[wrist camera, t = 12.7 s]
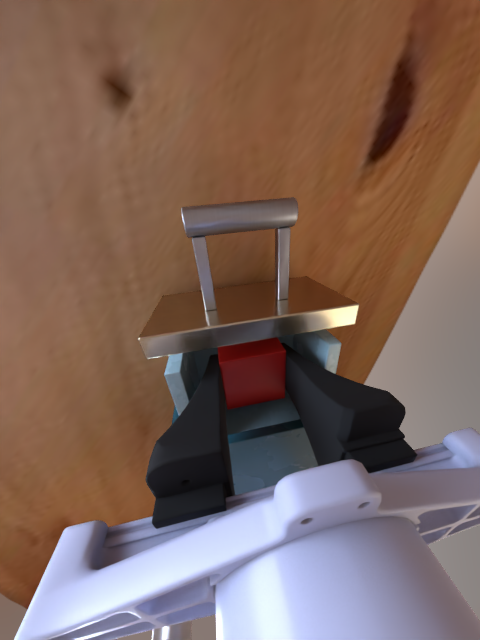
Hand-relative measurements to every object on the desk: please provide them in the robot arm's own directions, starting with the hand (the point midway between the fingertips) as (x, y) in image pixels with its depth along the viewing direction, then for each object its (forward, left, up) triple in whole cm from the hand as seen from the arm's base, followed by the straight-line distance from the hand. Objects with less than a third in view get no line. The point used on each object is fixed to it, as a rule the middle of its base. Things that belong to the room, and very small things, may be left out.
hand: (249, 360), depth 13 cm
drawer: (+1, -1, -3) cm, 3 cm away
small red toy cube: (0, 0, -2) cm, 2 cm away
